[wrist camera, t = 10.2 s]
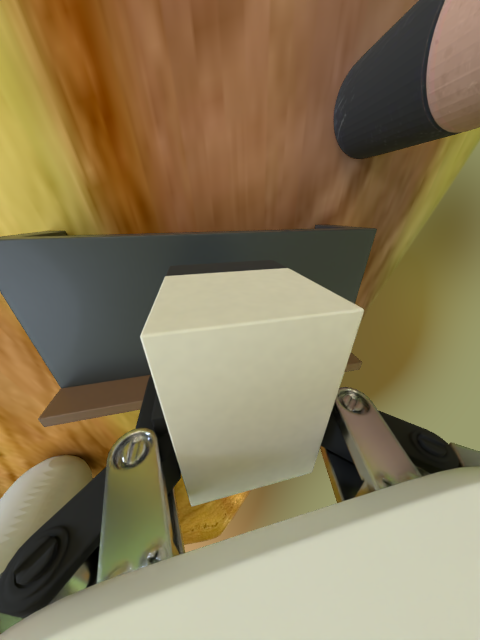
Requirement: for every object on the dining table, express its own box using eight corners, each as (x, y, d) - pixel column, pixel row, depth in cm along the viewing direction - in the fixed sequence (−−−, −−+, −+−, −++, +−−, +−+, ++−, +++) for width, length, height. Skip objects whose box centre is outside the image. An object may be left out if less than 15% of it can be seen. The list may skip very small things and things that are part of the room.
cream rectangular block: (168, 265, 8) (138, 335, 3) (273, 259, 9) (366, 308, 4) (196, 419, 13) (200, 538, 8) (263, 405, 14) (301, 506, 9)
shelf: (44, 231, 17) (-100, 248, 9) (327, 224, 22) (412, 231, 14) (97, 349, 24) (43, 427, 15) (309, 322, 29) (360, 369, 20)
